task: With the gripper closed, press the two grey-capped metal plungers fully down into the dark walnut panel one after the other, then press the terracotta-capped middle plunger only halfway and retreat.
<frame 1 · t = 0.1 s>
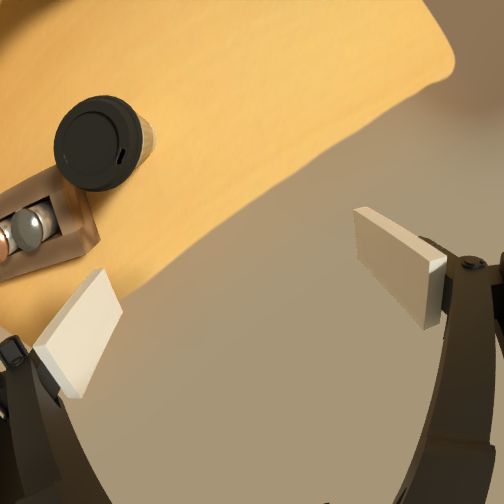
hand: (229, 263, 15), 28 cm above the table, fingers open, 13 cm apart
terracotta plunger: (6, 237, 33), point 7 cm above the table, slide at 0.0 cm
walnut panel: (29, 223, 40), on the table
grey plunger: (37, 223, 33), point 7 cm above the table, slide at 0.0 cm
coffee cup: (135, 140, 37), on the table
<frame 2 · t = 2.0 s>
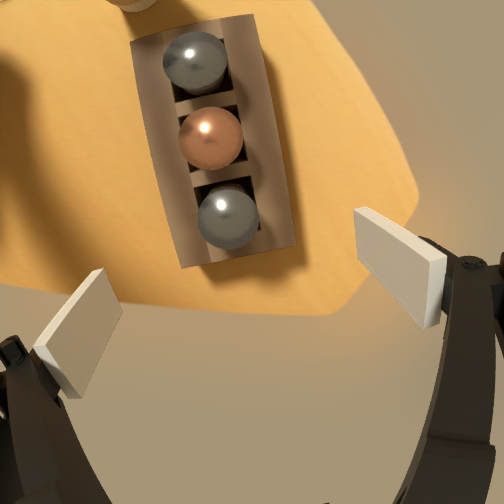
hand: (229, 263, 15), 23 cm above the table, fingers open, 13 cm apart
terracotta plunger: (212, 138, 27), point 7 cm above the table, slide at 0.0 cm
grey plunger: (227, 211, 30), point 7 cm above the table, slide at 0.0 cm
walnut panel: (215, 138, 34), on the table
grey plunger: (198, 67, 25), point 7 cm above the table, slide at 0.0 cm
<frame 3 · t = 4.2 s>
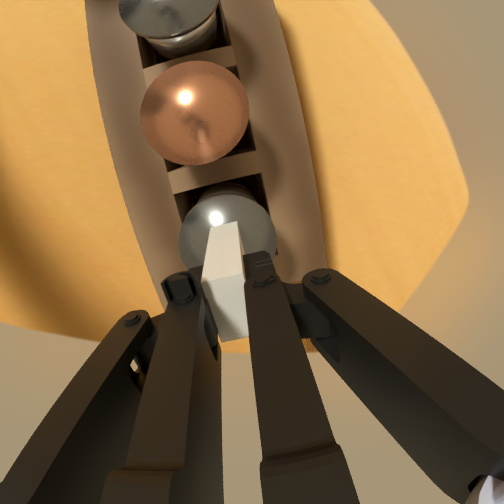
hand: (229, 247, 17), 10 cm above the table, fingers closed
terracotta plunger: (199, 116, 17), point 7 cm above the table, slide at 0.0 cm
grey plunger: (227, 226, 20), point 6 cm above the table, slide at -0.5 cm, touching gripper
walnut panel: (206, 122, 23), on the table
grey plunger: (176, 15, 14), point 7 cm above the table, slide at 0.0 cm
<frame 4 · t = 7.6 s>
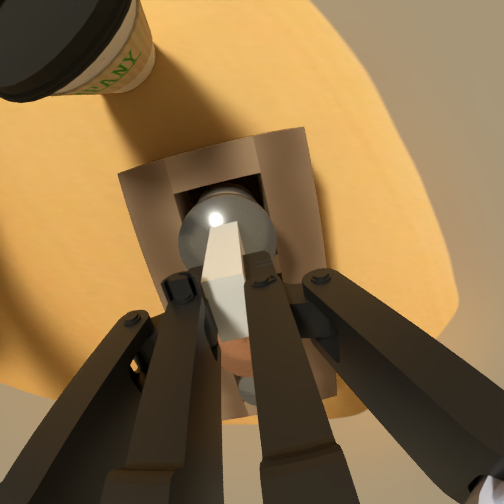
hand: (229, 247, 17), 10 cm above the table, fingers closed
terracotta plunger: (251, 320, 23), point 7 cm above the table, slide at 0.0 cm
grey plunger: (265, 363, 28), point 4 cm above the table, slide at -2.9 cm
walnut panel: (245, 280, 29), on the table
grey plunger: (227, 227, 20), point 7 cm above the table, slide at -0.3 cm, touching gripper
coffee cup: (123, 61, 21), on the table
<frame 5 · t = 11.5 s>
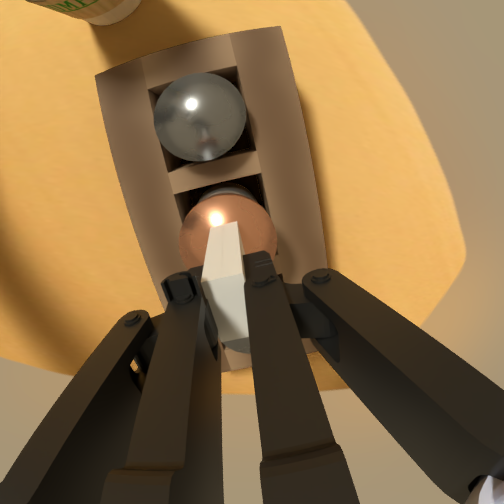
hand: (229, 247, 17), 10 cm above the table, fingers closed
terracotta plunger: (227, 227, 20), point 6 cm above the table, slide at -0.5 cm, touching gripper
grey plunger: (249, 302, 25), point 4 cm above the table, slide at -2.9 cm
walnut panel: (227, 205, 26), on the table
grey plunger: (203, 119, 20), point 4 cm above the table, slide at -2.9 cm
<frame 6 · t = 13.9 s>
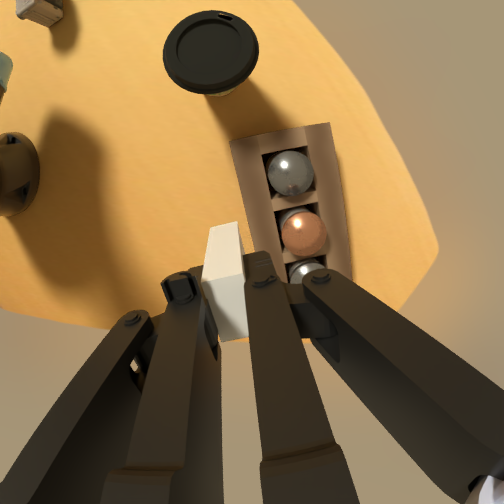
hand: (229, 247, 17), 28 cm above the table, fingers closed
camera: (54, 4, 29), on the table
terracotta plunger: (299, 227, 40), point 6 cm above the table, slide at -1.3 cm
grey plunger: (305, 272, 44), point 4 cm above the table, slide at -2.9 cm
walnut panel: (292, 216, 45), on the table
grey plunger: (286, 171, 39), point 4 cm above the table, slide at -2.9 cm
coffee cup: (218, 76, 37), on the table
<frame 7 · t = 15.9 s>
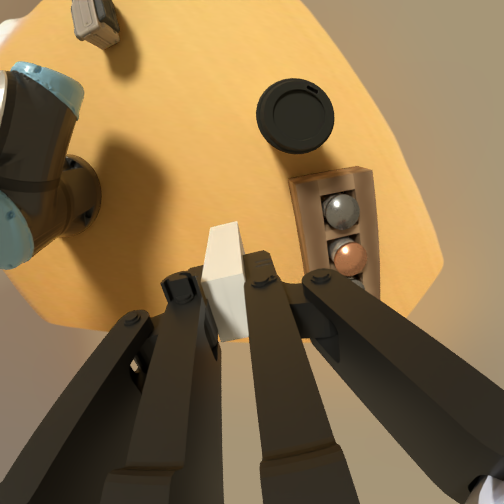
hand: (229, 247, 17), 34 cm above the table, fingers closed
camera: (106, 25, 36), on the table
terracotta plunger: (344, 252, 49), point 6 cm above the table, slide at -1.3 cm
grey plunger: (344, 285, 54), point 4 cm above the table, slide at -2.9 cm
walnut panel: (333, 241, 55), on the table
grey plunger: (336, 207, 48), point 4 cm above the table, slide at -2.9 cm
coffee cup: (278, 121, 46), on the table
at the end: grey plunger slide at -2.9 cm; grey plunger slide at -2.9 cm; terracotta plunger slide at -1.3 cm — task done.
